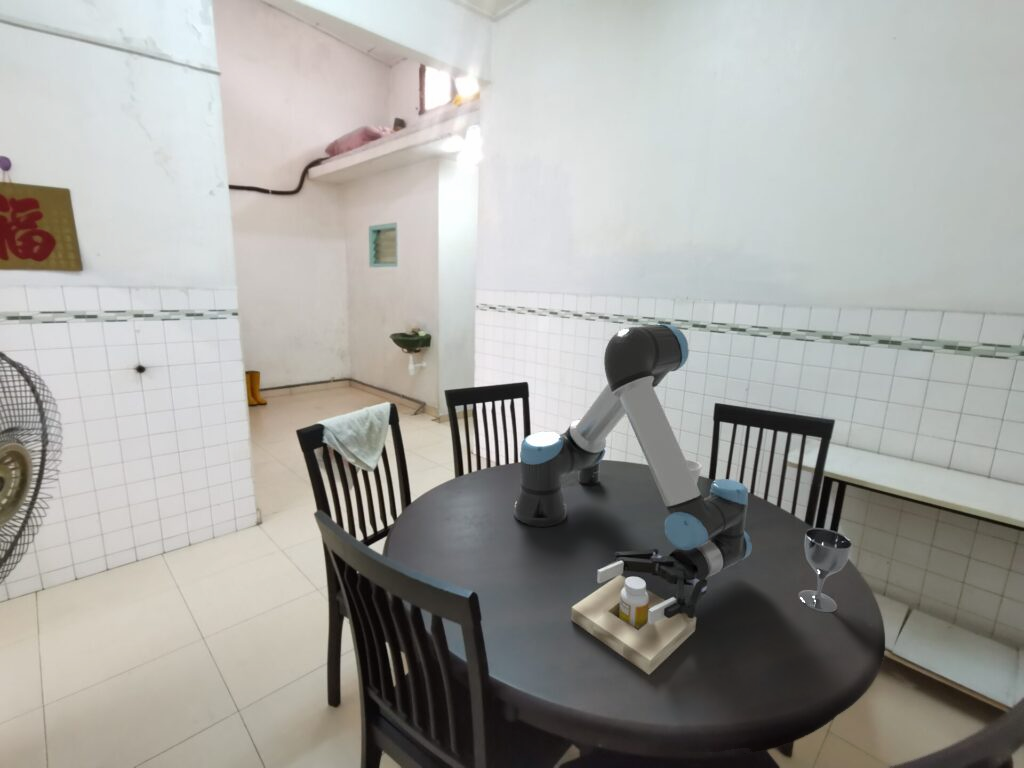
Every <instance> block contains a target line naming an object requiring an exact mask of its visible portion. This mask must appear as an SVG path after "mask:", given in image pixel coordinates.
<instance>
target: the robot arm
mask: <svg viewBox="0 0 1024 768" xmlns="http://www.w3.org/2000/svg"><path fill="white" fill-rule="evenodd" d="M688 357H689V343H688V340H687V338H686V336H685V334H684V333H683V332H682V331H681V329H679V328H678V327H676V326H674V325H673V324H664V323H656V324H651V325H644V326H643V325H641V326H629V327H626V328H622V329H620V330H619V331H617V332H615V334H614V335H613V336H612V337H610V340H608V342H607V346H606V347H605V350H604V357H603V360H604V361H603V365H604V373H605V377H606V381H607V384H606V385H605V387H604V388H603V390H602V391H601V392H600V393H599V395H598V396H597V397H596V398H595V400H594V401H593V403H592V404H591V406H590V407H589V409H588V410H586V412H585V414H584V415H583V416H582V418H581V419H577V420H574V421H573V422H571V424H570V426H568V428H567V429H566V431H565V432H564V433H562V434H559V433H557V432H553V431H543V432H542V431H538V432H534V433H532V434H529V435H527V436H526V437H525V438H524V439H523V440H522V441H521V444H520V453H519V457H520V485H519V486H520V488H519V492H518V494H517V497H516V501H515V502H514V504H513V505H514V507H513V510H514V511H513V514H515V515H514V517H515V518H516V520H517V521H519V520H520V521H521V523H522V522H523V523H522V524H524V523H526V524H525V525H527V524H528V525H527V526H531V525H532V526H531V527H538V528H540V527H552V526H555V525H559V524H561V523H562V522H563V521H565V519H566V517H567V504H566V503H565V499H564V495H563V492H562V477H564V476H566V475H567V476H568V475H570V474H573V473H576V472H579V470H582V469H586V468H590V467H592V466H594V465H596V464H598V463H599V462H600V463H601V461H602V460H603V458H604V457H605V454H606V449H605V448H606V444H607V437H608V436H609V435H610V433H612V431H613V430H614V429H615V427H616V426H617V425H618V423H619V422H621V420H622V419H623V418H624V417H625V415H626V417H627V419H628V421H629V423H630V425H631V428H632V431H633V432H634V435H635V438H636V440H637V441H638V444H639V446H640V449H641V450H642V451H641V452H642V453H643V455H644V458H645V460H646V463H647V465H648V467H649V470H650V472H651V474H652V477H653V479H654V481H655V484H656V486H657V488H658V491H659V492H660V495H661V498H662V499H663V503H664V504H665V506H666V509H667V511H668V512H667V513H668V514H669V515H668V516H667V517H666V518H665V521H664V533H665V536H666V538H667V540H668V541H669V542H670V544H672V545H673V546H674V547H675V549H674V550H673V551H671V553H670V554H669V555H663V556H662V555H661V554H660V553H659V549H658V548H651V549H648V550H632V551H629V550H627V551H616V552H614V560H613V561H611V562H610V563H607V564H606V566H604V567H602V568H600V569H597V572H596V573H597V574H596V575H597V578H596V582H597V583H598V584H602V583H605V582H607V581H610V580H612V579H614V578H615V577H617V576H618V575H621V576H622V575H623V574H624V572H625V571H626V572H636V573H646V574H647V573H648V574H651V575H652V576H655V577H660V578H661V579H664V580H665V581H666V582H667V583H669V584H670V585H675V590H676V592H675V593H676V596H675V597H676V598H675V597H674V596H672V597H670V598H668V599H665V600H666V601H664V602H662V603H660V604H658V605H656V606H654V607H652V608H650V609H648V620H647V623H649V624H650V625H651V624H653V623H655V622H657V621H659V620H661V619H662V618H664V617H667V618H671V617H673V616H675V615H677V614H679V613H680V614H683V613H685V614H687V617H689V618H694V616H695V615H696V612H697V609H698V607H699V604H700V601H701V598H702V597H703V596H704V595H705V594H706V593H707V589H708V580H707V578H709V577H711V576H713V575H715V574H718V573H719V572H721V571H723V570H726V569H727V568H729V567H733V566H734V565H737V564H739V563H741V562H742V561H743V560H744V559H746V558H748V556H749V555H750V554H751V552H752V549H753V547H752V546H753V543H752V541H751V539H750V536H749V534H748V533H747V532H746V531H745V525H746V518H747V511H748V510H747V509H748V505H749V501H748V500H749V490H748V488H747V487H746V485H744V484H743V483H741V482H739V481H736V480H734V479H727V478H721V479H715V480H713V481H712V483H711V485H710V489H709V496H707V497H705V498H704V497H703V495H702V493H701V491H700V490H699V486H698V483H697V484H696V482H695V480H694V478H693V475H692V473H691V471H690V469H689V466H688V464H687V462H686V460H687V459H686V458H685V455H684V454H683V450H682V448H681V446H680V444H679V443H678V440H677V437H676V435H675V433H674V431H673V429H672V426H671V425H670V422H669V420H668V418H667V417H668V416H666V414H665V411H664V409H663V406H662V404H661V402H660V399H659V398H658V395H657V392H656V391H655V389H654V388H656V387H658V385H660V383H661V382H662V381H663V379H664V378H665V377H666V376H667V375H668V373H670V372H676V371H678V369H681V368H682V367H683V366H684V365H686V362H687V360H688ZM685 459H686V460H685ZM520 521H519V522H520ZM657 565H658V566H657ZM656 567H657V569H656ZM685 586H693V591H692V592H691V595H690V598H689V601H688V602H685V600H686V597H685Z"/></svg>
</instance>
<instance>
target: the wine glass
mask: <svg viewBox="0 0 1024 768" xmlns="http://www.w3.org/2000/svg"><path fill="white" fill-rule="evenodd" d="M851 550H852V541H851V540H850V539H849V538H848V537H847V536H845V535H844V534H841V533H840V532H838V531H835V530H833V529H832V530H831V529H826V528H823V527H822V528H821V527H811V528H808V529H807V530H806V532H805V535H804V553H805V558H806V560H807V562H808V564H809V565H810V566H811V568H812V569H813V570H814V572H815V573H816V575H817V588H816V589H817V590H812V589H803V590H801V591H799V592H798V595H797V597H798V599H799V601H800V602H801V603H803V604H804V606H806V607H808V608H810V609H813V610H814V611H818V612H821V613H833V612H836V611H837V610H838V604H837V603H836V601H835V600H834V599H833V598H832V597H830V596H829V595H826V594H825V593H822V590H823V586H824V583H825V580H826V579H827V578H828V577H829V576H831V575H833V574H836V573H838V572H840V571H842V569H844V567H845V566H846V564H847V562H848V560H849V557H850V553H851Z"/></svg>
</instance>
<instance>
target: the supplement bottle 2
mask: <svg viewBox="0 0 1024 768" xmlns="http://www.w3.org/2000/svg"><path fill="white" fill-rule="evenodd" d="M625 578H626V580H625V587H624V588H623V589H622V590H621V594H620V610H619V615H618V618H619V619H621V620H623V621H624V622H626V623H627V624H629V625H630V626H632V627H633V628H635V629H637V630H639V629H640V628H642V627H643V626H644V625H645V624H646V623H648V620H647V615H648V602H649V597H648V594H647V592H646V590H647V584H646V581H645V580H644V579H643V578H641V577H638V576H629V577H625Z"/></svg>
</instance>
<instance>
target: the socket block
mask: <svg viewBox="0 0 1024 768" xmlns="http://www.w3.org/2000/svg"><path fill="white" fill-rule="evenodd" d="M626 578H627V577H625V576H623V575H622V574H621V575H618V576H616V577H614V578H612V579H610V580H609V581H608V582H606V583H605V584H604V585H602V586H600V587H599V588H598V589H596V590H595V591H594V592H592V593H590V594H589V595H588V596H586V597H585V598H583V599H581V600H580V601H579V602H577V603H575V604H574V605H573V606H571V613H570V614H571V621H572V622H573V623H575V624H576V625H577V626H579V627H580V628H582V629H584V631H586V632H587V633H589V634H591V635H592V636H593V637H595V638H596V639H597V640H599V641H601V642H602V643H603V644H605V646H608V647H609V648H610V649H612V650H613V651H614V652H616V653H618V654H619V656H621V657H623V658H625V659H626V660H627V661H629V662H630V663H631V664H632V665H635V666H636V667H637V668H639V669H640V670H641V671H642V672H644V673H646V675H651V674H652V673H653V672H654V671H655V670H656V669H657V668H658V667H659V666H660V665H661V664H662V663H663V662H665V660H666V659H668V658H669V656H670V655H671V654H672V653H673V652H675V650H676V649H678V648H679V647H680V646H681V645H682V644H683V643H684V642H685V641H687V639H688V638H689V637H690V636H691V635H692V634H693V633H694V632H695V631H696V625H697V617H696V616H695V615H694V618H689V617H687V614H685V613H683V614H680V613H679V614H677V615H675V616H673V617H671V618H667V617H664V618H662V619H661V620H659V621H657V622H655V623H653V624H651V625H650V624H649V623H648V622H647V623H646V624H645V625H644V626H643V627H642V628H640V629H639V630H637V629H635V628H633V627H632V626H630V625H629V624H627V623H626V622H624V621H623V620H621V619H619V610H620V594H621V590H622V589H623V588H624V587H625V580H626ZM646 592H647V594H648V597H649V602H648V609H650V608H652V607H654V606H656V605H658V604H660V603H662V602H664V601H666V600H667V599H664V598H663V597H661V596H659V595H657V594H655V593H653V592H652V591H650V590H649V589H646ZM647 621H648V615H647Z"/></svg>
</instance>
